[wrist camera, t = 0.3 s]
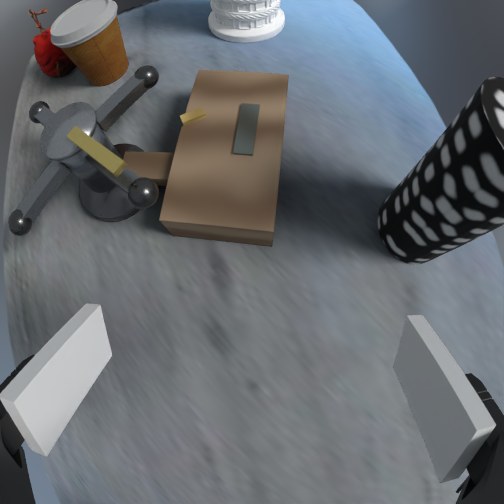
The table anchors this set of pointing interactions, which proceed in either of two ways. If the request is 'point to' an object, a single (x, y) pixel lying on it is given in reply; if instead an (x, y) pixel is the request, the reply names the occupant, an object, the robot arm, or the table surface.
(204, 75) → the walnut stand
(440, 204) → the spotted tube
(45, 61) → the red clay folk toy
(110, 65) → the disposable coffee cup
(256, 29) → the decorative container
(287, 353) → the table surface
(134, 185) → the capstan
